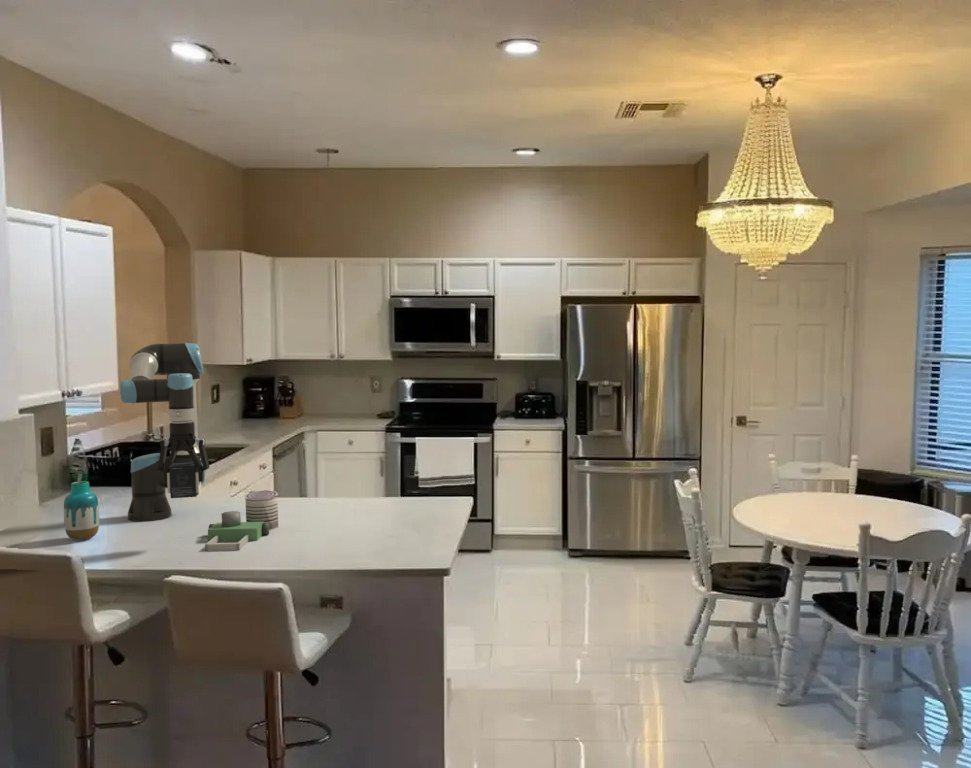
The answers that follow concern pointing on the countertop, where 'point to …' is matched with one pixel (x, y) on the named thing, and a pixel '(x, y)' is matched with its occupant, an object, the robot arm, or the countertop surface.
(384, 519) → the countertop surface
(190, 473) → the box
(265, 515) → the can
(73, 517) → the vase
